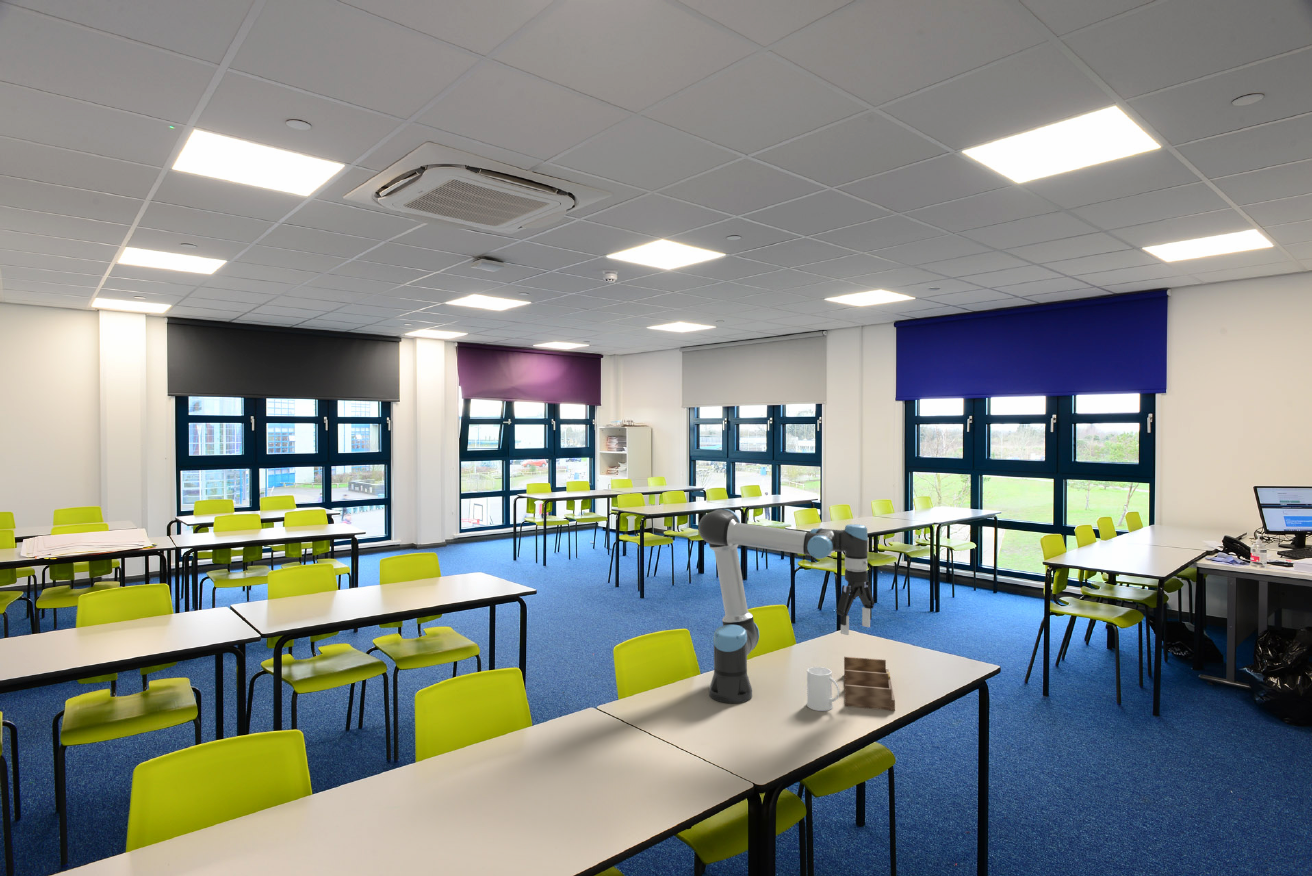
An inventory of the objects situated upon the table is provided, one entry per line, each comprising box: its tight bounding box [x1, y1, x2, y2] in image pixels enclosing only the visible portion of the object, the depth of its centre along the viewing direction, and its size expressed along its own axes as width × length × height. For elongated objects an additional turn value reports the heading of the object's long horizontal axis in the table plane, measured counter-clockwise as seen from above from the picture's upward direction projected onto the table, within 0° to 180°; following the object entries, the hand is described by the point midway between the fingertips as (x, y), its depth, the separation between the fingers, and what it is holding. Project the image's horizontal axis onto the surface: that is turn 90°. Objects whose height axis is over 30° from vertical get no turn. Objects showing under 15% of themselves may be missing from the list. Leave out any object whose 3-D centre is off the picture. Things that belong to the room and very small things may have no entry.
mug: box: [806, 666, 840, 712], centre depth 225 cm, size 12×8×12 cm
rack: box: [843, 656, 896, 711], centre depth 238 cm, size 16×30×7 cm, turn 165°
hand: (855, 630), depth 232 cm, fingers open, 13 cm apart
